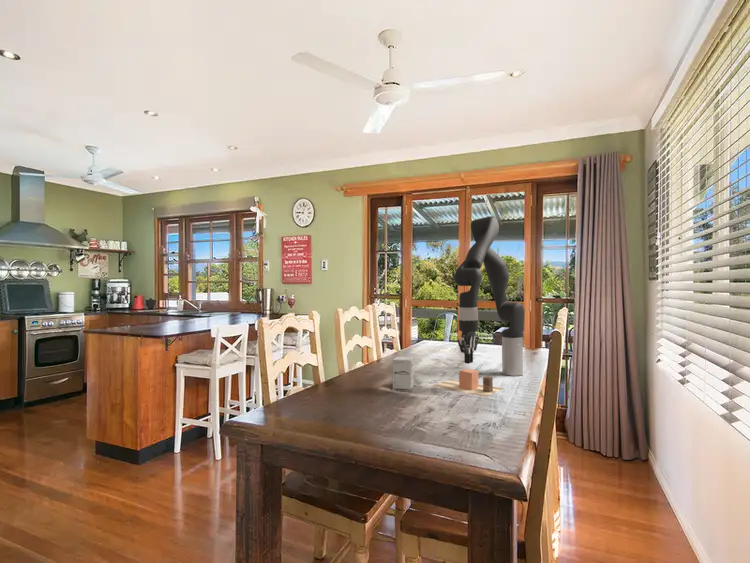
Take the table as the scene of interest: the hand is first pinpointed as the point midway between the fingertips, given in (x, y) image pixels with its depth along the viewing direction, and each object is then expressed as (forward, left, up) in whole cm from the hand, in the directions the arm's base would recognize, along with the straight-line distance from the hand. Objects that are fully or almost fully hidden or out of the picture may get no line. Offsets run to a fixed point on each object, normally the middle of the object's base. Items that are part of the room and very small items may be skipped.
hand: (468, 362), depth 163 cm
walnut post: (0, +8, -10) cm, 13 cm away
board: (0, -1, -11) cm, 11 cm away
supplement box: (+15, -21, -11) cm, 28 cm away
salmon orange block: (0, 0, -10) cm, 10 cm away
